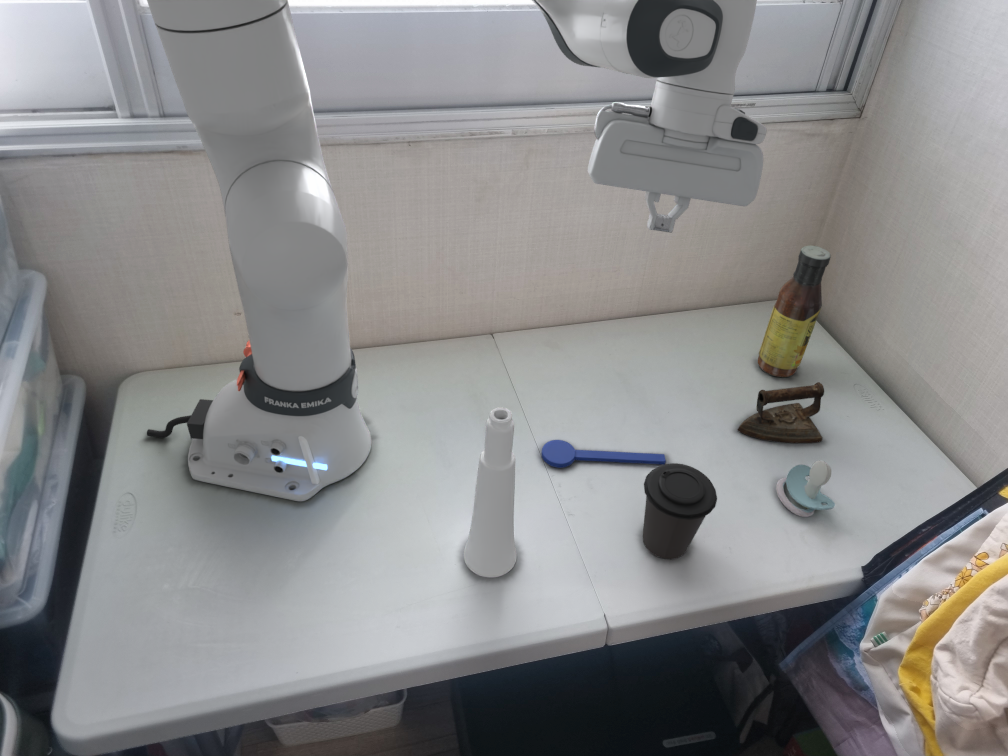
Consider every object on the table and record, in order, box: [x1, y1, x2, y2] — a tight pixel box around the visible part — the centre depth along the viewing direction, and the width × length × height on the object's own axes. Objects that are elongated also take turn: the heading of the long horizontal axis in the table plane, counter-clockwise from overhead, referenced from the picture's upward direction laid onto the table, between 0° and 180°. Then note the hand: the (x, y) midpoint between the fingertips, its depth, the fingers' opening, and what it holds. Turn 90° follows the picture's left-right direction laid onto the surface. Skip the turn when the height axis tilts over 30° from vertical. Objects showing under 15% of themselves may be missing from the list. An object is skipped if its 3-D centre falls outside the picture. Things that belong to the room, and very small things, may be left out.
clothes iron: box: [736, 381, 825, 444], centre depth 104 cm, size 7×11×10 cm, turn 101°
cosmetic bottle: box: [463, 406, 518, 579], centre depth 80 cm, size 6×6×22 cm
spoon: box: [541, 439, 667, 469], centre depth 100 cm, size 16×4×1 cm, turn 90°
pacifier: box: [775, 460, 836, 518], centre depth 95 cm, size 7×6×6 cm
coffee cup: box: [642, 462, 718, 560], centre depth 87 cm, size 8×8×10 cm
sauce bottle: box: [757, 245, 832, 378], centre depth 111 cm, size 6×6×20 cm
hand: (659, 230), depth 94 cm, fingers closed
